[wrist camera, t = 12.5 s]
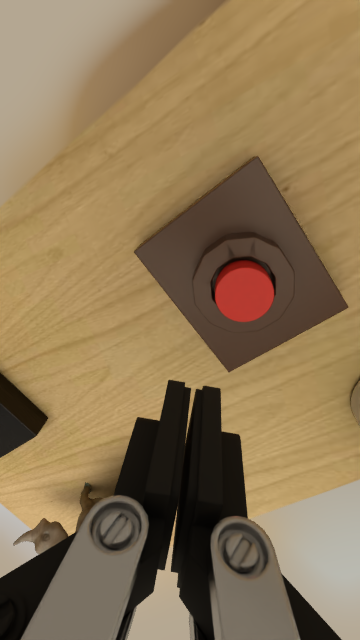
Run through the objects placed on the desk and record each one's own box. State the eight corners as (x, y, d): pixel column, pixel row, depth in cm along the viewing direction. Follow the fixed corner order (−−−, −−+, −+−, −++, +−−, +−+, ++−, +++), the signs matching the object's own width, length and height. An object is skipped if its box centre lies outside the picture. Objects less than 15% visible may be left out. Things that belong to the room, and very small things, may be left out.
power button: (204, 280, 22) (203, 289, 21) (251, 248, 21) (254, 255, 19) (234, 320, 23) (235, 332, 22) (280, 293, 22) (285, 303, 20)
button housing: (139, 244, 25) (126, 258, 22) (254, 156, 22) (261, 154, 18) (228, 358, 29) (229, 386, 25) (338, 296, 25) (358, 318, 22)
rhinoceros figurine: (223, 503, 33) (112, 682, 24) (152, 475, 44) (58, 592, 35) (179, 445, 31) (44, 616, 23) (116, 431, 42) (10, 543, 34)
